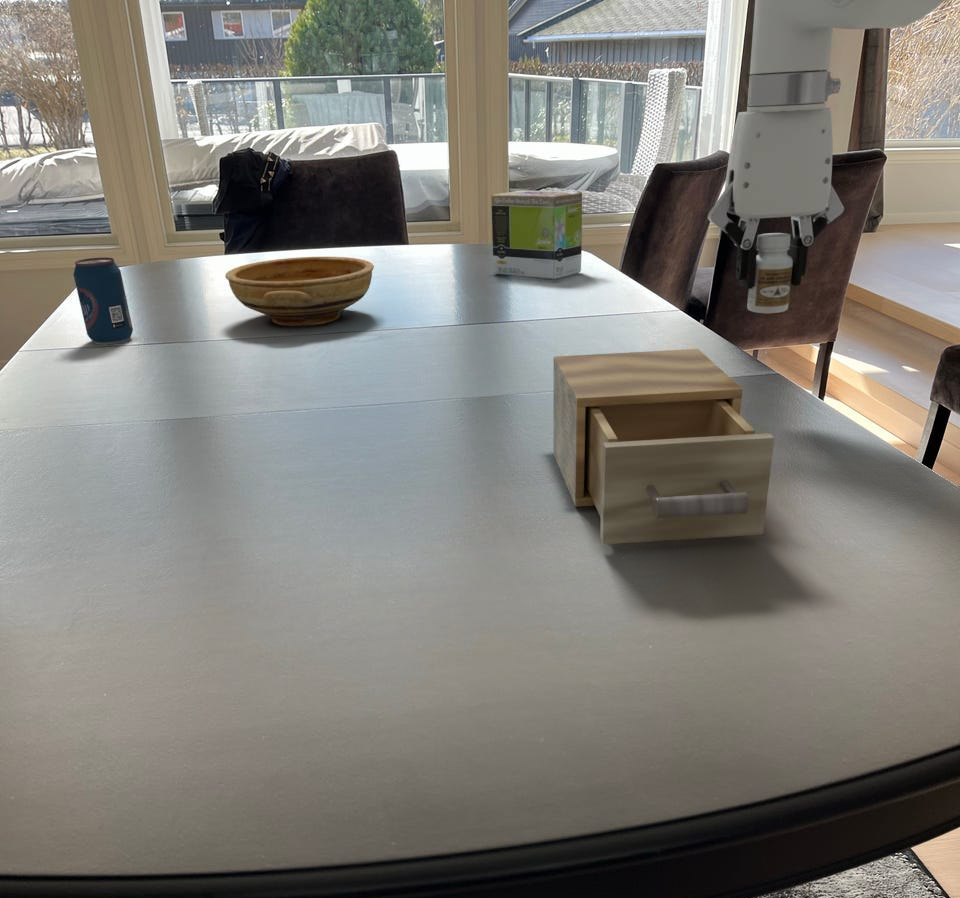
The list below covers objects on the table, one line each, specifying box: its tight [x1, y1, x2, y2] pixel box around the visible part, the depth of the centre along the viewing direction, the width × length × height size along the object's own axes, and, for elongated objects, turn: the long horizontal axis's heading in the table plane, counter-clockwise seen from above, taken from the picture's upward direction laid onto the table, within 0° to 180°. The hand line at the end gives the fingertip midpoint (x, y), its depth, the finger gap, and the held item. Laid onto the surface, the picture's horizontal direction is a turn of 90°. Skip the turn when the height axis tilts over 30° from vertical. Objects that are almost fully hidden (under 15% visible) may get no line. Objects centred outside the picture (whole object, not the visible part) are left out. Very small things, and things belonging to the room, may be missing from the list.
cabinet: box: [552, 348, 743, 508], centre depth 93 cm, size 15×15×10 cm
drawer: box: [584, 399, 775, 545], centre depth 82 cm, size 18×13×8 cm
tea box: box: [490, 189, 583, 280], centre depth 189 cm, size 15×10×15 cm, turn 52°
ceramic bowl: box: [225, 256, 375, 327], centre depth 162 cm, size 30×24×8 cm
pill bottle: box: [746, 232, 793, 314], centre depth 106 cm, size 4×4×8 cm
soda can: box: [72, 256, 134, 346], centre depth 152 cm, size 7×7×12 cm
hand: (769, 283), depth 107 cm, fingers closed on pill bottle, 4 cm apart
